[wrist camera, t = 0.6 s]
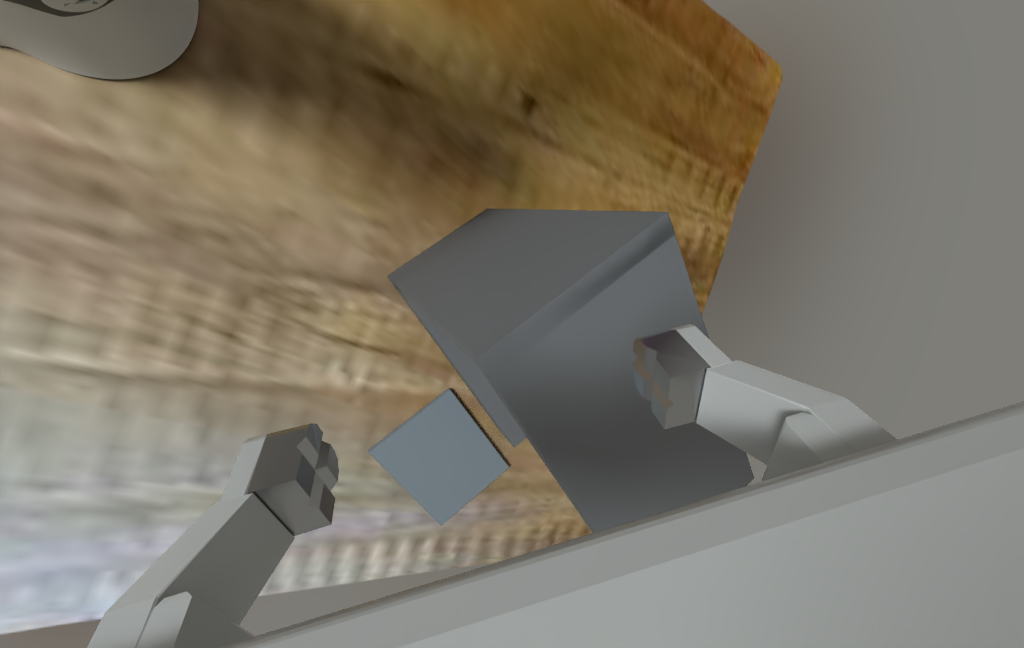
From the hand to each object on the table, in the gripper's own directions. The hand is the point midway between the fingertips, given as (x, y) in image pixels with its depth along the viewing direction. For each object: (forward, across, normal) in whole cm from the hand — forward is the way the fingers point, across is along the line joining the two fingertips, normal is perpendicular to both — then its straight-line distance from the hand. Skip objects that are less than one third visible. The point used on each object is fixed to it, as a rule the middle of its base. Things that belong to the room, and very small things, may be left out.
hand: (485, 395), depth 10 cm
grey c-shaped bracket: (+35, -3, +24) cm, 42 cm away
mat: (+28, +8, +38) cm, 47 cm away
